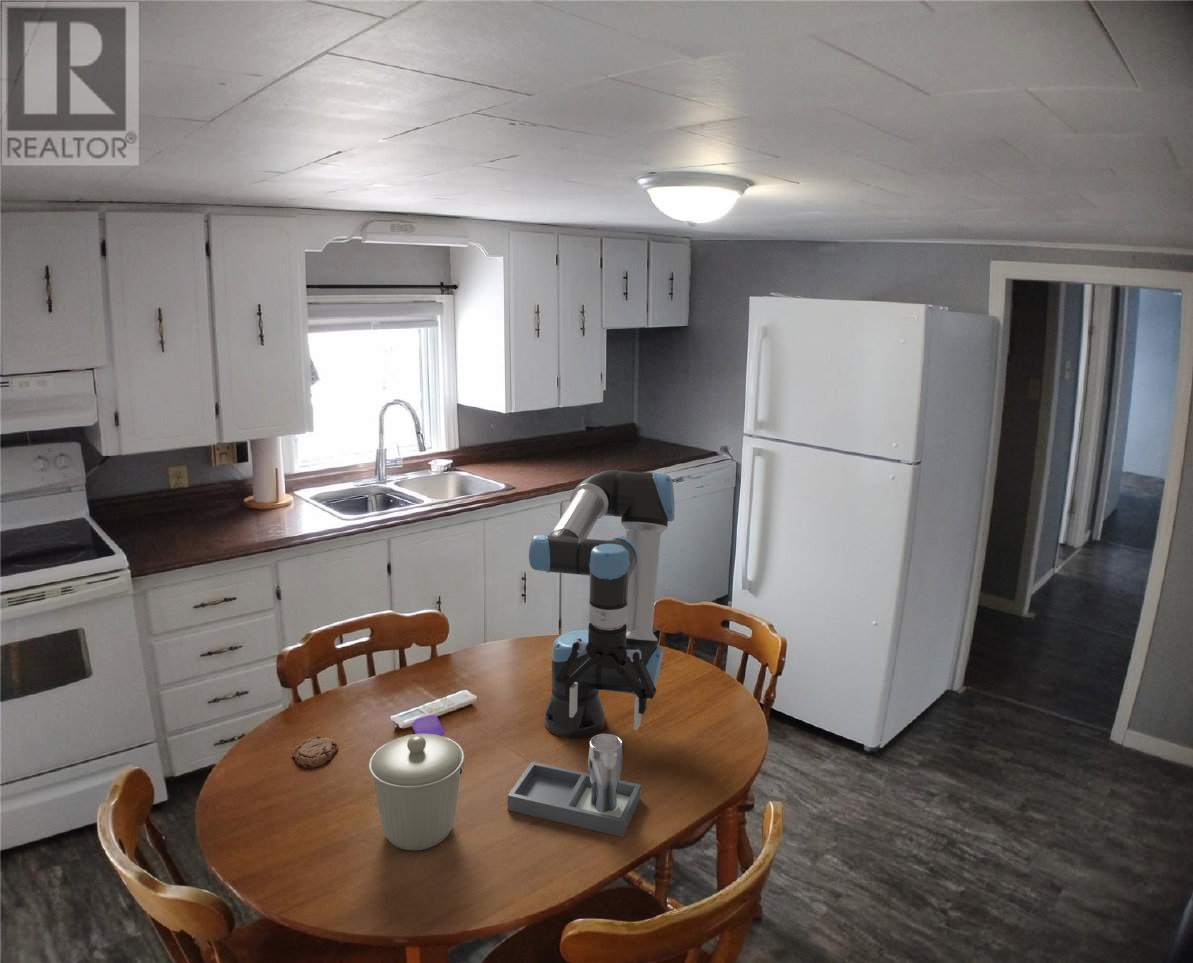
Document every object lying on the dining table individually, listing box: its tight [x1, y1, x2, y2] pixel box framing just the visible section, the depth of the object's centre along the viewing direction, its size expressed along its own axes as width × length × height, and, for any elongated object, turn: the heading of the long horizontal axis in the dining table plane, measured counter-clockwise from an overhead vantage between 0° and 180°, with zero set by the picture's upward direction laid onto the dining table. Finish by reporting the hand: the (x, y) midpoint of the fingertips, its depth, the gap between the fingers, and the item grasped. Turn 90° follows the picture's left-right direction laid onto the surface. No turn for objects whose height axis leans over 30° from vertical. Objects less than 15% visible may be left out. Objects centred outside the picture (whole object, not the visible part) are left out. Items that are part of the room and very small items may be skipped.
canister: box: [368, 733, 465, 851], centre depth 157 cm, size 18×18×21 cm
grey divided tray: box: [507, 761, 641, 838], centre depth 169 cm, size 25×13×4 cm, turn 72°
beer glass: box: [587, 733, 623, 815], centre depth 166 cm, size 7×7×15 cm
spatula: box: [411, 714, 462, 773], centre depth 189 cm, size 24×7×2 cm, turn 30°
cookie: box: [292, 735, 339, 769], centre depth 185 cm, size 10×11×3 cm
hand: (604, 720), depth 163 cm, fingers open, 13 cm apart
